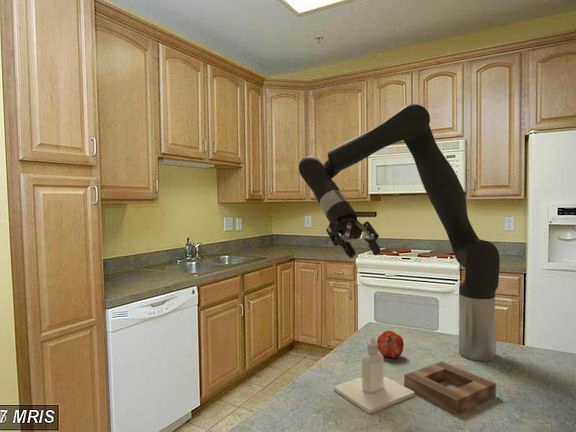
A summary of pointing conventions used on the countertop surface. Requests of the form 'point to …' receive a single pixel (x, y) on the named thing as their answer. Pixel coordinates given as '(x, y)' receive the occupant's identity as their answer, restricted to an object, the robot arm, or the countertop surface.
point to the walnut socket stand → (457, 400)
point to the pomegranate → (390, 344)
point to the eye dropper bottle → (372, 369)
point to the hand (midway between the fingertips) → (366, 254)
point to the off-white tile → (373, 394)
